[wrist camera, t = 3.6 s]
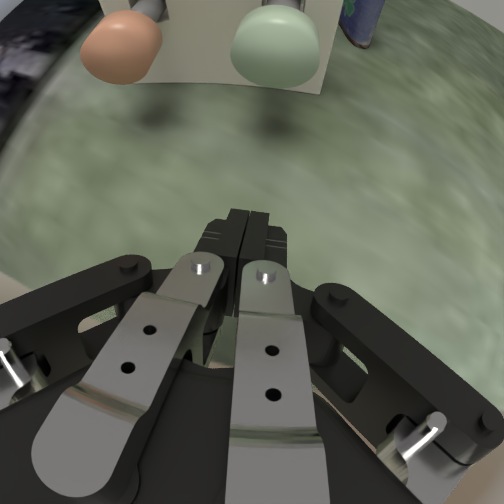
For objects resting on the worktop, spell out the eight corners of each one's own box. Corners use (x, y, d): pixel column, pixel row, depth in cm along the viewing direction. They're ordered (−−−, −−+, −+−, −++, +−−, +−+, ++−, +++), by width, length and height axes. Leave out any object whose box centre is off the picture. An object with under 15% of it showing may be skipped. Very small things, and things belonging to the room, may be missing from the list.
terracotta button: (95, 87, 17) (69, 39, 13) (137, 22, 20) (123, -21, 15) (157, 82, 17) (138, 26, 12) (191, 18, 19) (183, -29, 15)
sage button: (232, 84, 17) (227, 22, 12) (251, 18, 19) (251, -31, 14) (312, 93, 17) (326, 32, 12) (313, 26, 19) (322, -23, 14)
